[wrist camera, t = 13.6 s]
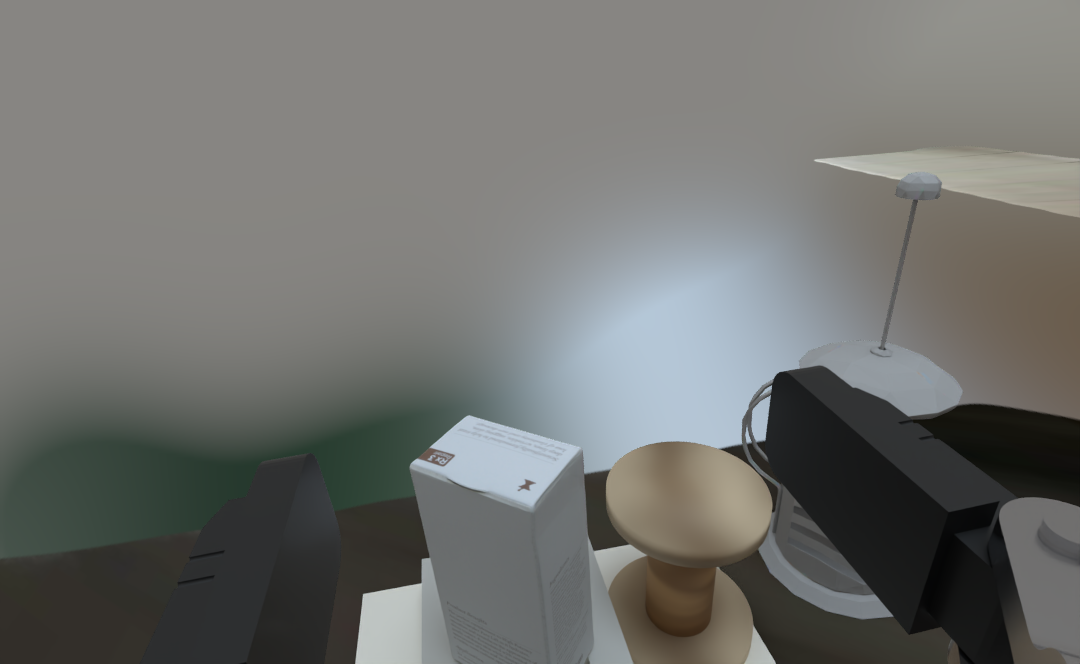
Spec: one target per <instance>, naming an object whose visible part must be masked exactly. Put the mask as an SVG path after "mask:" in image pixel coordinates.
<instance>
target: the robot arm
mask: <svg viewBox="0 0 1080 664" xmlns="http://www.w3.org/2000/svg"><path fill="white" fill-rule="evenodd" d="M765 447H766V454H767V458H768V461H769V464H770V467H771V469H772V471H773V472H774V474H775V475H776V477H777V478H778V479H779V481H780V482H781V483H782V484H783V485H784V486H785V488H786V489H787V490H788V491H789V492H790V494H791V495H792V496H793V497H794V498H795V500H796V501H797V502H798V503H799V504H800V506H801V507H802V508H803V509H804V510H805V511H806V513H807V514H808V515H809V516H810V517H811V519H812V520H813V521H814V522H815V523H816V525H817V526H818V527H819V528H820V529H821V531H822V532H823V533H824V534H825V535H826V537H827V538H828V539H829V540H830V541H831V542H832V544H833V545H834V546H835V547H836V548H837V550H838V551H839V552H840V553H841V554H842V556H843V557H844V558H845V559H846V560H847V562H848V563H849V564H850V565H851V566H852V567H853V569H854V570H855V571H856V572H857V573H858V575H859V576H860V577H861V578H862V579H863V581H864V582H865V583H866V584H867V585H868V587H869V588H870V589H871V590H872V591H873V593H874V594H875V595H876V596H877V597H878V598H879V600H880V601H881V602H882V603H883V604H884V606H885V607H886V608H887V609H888V610H889V612H890V613H891V614H892V615H893V616H894V618H895V619H896V620H897V621H898V622H899V623H900V625H901V626H902V627H903V628H904V629H905V631H906V632H907V633H908V634H909V635H910V634H914V633H918V632H922V631H926V630H930V629H934V628H938V627H942V628H943V629H944V630H945V632H946V633H947V634H948V635H949V636H950V637H951V638H952V639H951V642H950V645H949V648H948V664H1080V507H1077V506H1074V505H1071V504H1068V503H1065V502H1061V501H1057V500H1051V499H1045V498H1034V497H1032V498H1020V499H1019V498H1017V497H1016V496H1015V495H1013V494H1012V493H1011V492H1009V491H1008V490H1007V489H1005V488H1004V487H1003V486H1001V485H1000V484H999V483H997V482H996V481H994V480H993V479H992V478H990V477H989V476H988V475H986V474H985V473H984V472H982V471H981V470H980V469H978V468H977V467H976V466H974V465H973V464H972V463H970V462H969V461H968V460H966V459H965V458H964V457H962V456H961V455H960V454H958V453H957V452H955V451H954V450H953V449H951V448H950V447H949V446H947V445H946V444H945V443H943V442H942V441H941V440H939V439H936V440H935V439H934V437H933V434H931V433H930V432H929V431H927V430H926V429H925V428H923V427H922V426H921V425H919V424H918V423H916V424H914V423H913V421H912V419H911V418H910V417H908V416H907V415H906V414H904V413H903V412H902V411H900V410H899V409H898V408H896V407H895V406H894V405H892V404H891V403H890V402H888V401H886V400H884V399H882V398H879V397H877V396H875V395H872V394H870V393H868V392H866V391H863V390H861V389H859V388H856V387H855V388H853V387H851V386H850V385H849V384H848V383H846V382H845V381H844V380H842V379H841V378H840V377H839V376H837V375H836V374H835V373H833V372H832V371H831V370H829V369H828V368H826V367H824V366H821V365H818V366H812V367H807V368H801V369H795V370H790V371H784V372H779V373H778V374H777V375H776V376H775V378H774V380H773V384H772V391H771V399H770V407H769V416H768V424H767V432H766V441H765ZM189 558H190V562H189V563H186V565H185V567H184V570H183V572H182V574H181V576H180V578H179V580H178V588H177V589H174V591H173V593H172V595H171V598H170V600H169V602H168V604H167V606H166V608H165V610H164V613H163V615H162V617H161V619H160V621H159V623H158V626H157V628H156V630H155V632H154V634H153V636H152V638H151V641H150V643H149V645H148V647H147V649H146V651H145V653H144V656H143V658H142V660H141V662H140V664H324V660H325V654H326V648H327V642H328V636H329V629H330V623H331V617H332V611H333V605H334V599H335V592H336V586H337V580H338V574H339V568H340V561H341V540H340V532H339V527H338V523H337V519H336V516H335V513H334V510H333V507H332V504H331V501H330V498H329V495H328V492H327V489H326V486H325V483H324V480H323V477H322V473H321V470H320V467H319V464H318V462H317V459H316V458H315V456H314V455H313V454H311V453H309V454H303V455H297V456H291V457H286V458H280V459H275V460H269V461H263V462H262V463H261V464H260V465H259V466H258V469H257V471H256V473H255V476H254V479H253V481H252V484H251V486H250V489H249V491H248V494H247V496H246V497H244V498H238V499H232V500H229V501H228V502H227V503H226V504H225V505H224V506H223V507H222V508H221V509H220V510H219V511H218V512H217V513H216V514H215V515H214V517H212V519H211V520H210V521H209V522H208V523H207V524H206V525H205V526H204V527H203V529H202V531H201V533H200V535H199V537H198V539H197V542H196V544H195V546H194V548H193V550H192V552H191V555H190V557H189Z"/></svg>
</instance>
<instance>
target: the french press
mask: <svg viewBox="0 0 1080 664" xmlns="http://www.w3.org/2000/svg"><path fill="white" fill-rule="evenodd" d="M941 185H942V182H941V181H940V180H939V179H938V177H937V176H936V175H933V174H930V173H926V172H916V173H911V174H908V175H907V176H905V177H904V178H903V179H902V180H901V181H900V182H899V184H898V186H897V189H896V194H895V195H896V196H897V197H900V198H905V199H913V203H912V207H911V212H910V216H909V221H908V225H907V230H906V234H905V238H904V243H903V248H902V252H901V257H900V261H899V265H898V269H897V274H896V278H895V283H894V287H893V292H892V296H891V301H890V305H889V309H888V314H887V318H886V323H885V327H884V332H883V336H882V340H881V342H876V341H861V340H856V341H847V342H838V343H830V344H827V345H825V346H822V347H819V348H816V349H813V350H810V351H808V352H807V353H806V354H805V355H804V356H803V357H802V358H801V359H800V360H799V366H800V369H801V368H807V367H812V366H818V365H821V366H824V367H826V368H828V369H829V370H831V371H832V372H833V373H835V374H836V375H837V376H839V377H840V378H841V379H842V380H844V381H845V382H846V383H848V384H849V385H850V386H851V387H853V388H855V387H856V388H859V389H861V390H863V391H866V392H868V393H870V394H872V395H875V396H877V397H879V398H882V399H884V400H886V401H888V402H890V403H891V404H892V405H894V406H895V407H896V408H898V409H899V410H900V411H902V412H903V413H904V414H906V415H907V416H908V417H910V418H911V419H932V418H934V417H936V416H939V415H941V414H944V413H946V412H949V411H951V410H952V409H954V408H955V407H956V406H957V404H958V402H959V400H960V398H961V395H962V393H963V391H962V389H961V387H960V386H959V384H958V382H957V381H956V379H955V378H954V377H952V376H951V375H949V374H948V373H946V372H945V371H944V370H942V369H941V368H939V367H938V366H937V365H936V364H934V363H933V362H932V361H930V360H929V359H928V358H927V357H925V356H923V355H921V354H918V353H916V352H913V351H910V350H908V349H905V348H902V347H899V346H896V345H894V344H889V343H885V342H886V338H887V333H888V329H889V324H890V320H891V316H892V312H893V307H894V302H895V298H896V294H897V290H898V285H899V281H900V277H901V272H902V267H903V263H904V259H905V255H906V250H907V246H908V241H909V237H910V233H911V228H912V223H913V219H914V215H915V211H916V206H917V202H918V200H933V199H938V198H939V197H940V191H941ZM773 380H774V379H773ZM773 380H771V381H770V382H768V383H766V384H764V385H763V386H762V387H761V388H760V389H759V390H758V391H757V392H756V394H755V395H754V396H753V398H752V400H751V402H750V404H749V409H748V410H747V412H746V414H745V416H744V418H743V420H742V443H743V449H744V451H745V453H746V455H747V458H748V460H749V462H750V463H751V464H752V465H753V466H754V468H755V469H756V470H757V471H758V472H759V473H760V474H761V475H762V476H764V477H765V478H766V479H768V480H769V481H770V482H772V483H773V484H774V485H776V487H777V488H778V496H777V503H776V509H775V512H773V513H772V514H771V521H770V527H769V531H768V534H767V537H766V539H765V540H764V542H763V544H762V545H761V546H760V547H759V548H758V550H759V552H760V554H761V556H762V558H763V560H764V562H765V564H766V565H767V567H768V569H769V571H770V573H771V574H772V575H774V576H775V577H776V578H777V579H778V580H779V581H780V582H781V583H782V584H783V585H784V586H785V587H787V588H788V589H789V590H790V591H791V592H792V593H793V594H794V595H796V596H798V597H800V598H802V599H804V600H806V601H808V602H810V603H812V604H814V605H816V606H817V607H819V608H821V609H823V610H825V611H828V612H832V613H837V614H841V615H846V616H850V617H854V618H859V619H871V618H882V617H893V615H892V614H891V613H890V612H889V610H888V609H887V608H886V607H885V606H884V604H883V603H882V602H881V601H880V600H879V598H878V597H877V596H876V595H875V594H874V593H873V591H872V590H871V589H870V588H869V587H868V585H867V584H866V583H865V582H864V581H863V579H862V578H861V577H860V576H859V575H858V573H857V572H856V571H855V570H854V569H853V567H852V566H851V565H850V564H849V563H848V562H847V560H846V559H845V558H844V557H843V556H842V554H841V553H840V552H839V551H838V550H837V548H836V547H835V546H834V545H833V544H832V542H831V541H830V540H829V539H828V538H827V537H826V535H825V534H824V533H823V532H822V531H821V529H820V528H819V527H818V526H817V525H816V523H815V522H814V521H813V520H812V519H811V517H810V516H809V515H808V514H807V513H806V511H805V510H804V509H803V508H802V507H801V506H800V504H799V503H798V502H797V501H796V500H795V498H794V497H793V496H792V495H791V494H790V492H789V491H788V490H787V489H786V488H785V486H784V485H783V484H782V483H781V485H780V484H779V483H777V482H776V481H775V480H774V479H772V478H771V477H770V476H768V475H767V474H766V473H764V472H763V471H762V470H761V469H760V468H759V467H758V466H757V465H756V463H755V462H754V461H753V460H752V458H751V456H750V453H749V451H748V448H747V443H746V437H745V432H746V426H748V431H749V436H750V439H751V441H752V444H753V446H754V448H755V449H756V450H757V452H758V453H759V454H760V455H761V456H762V457H763V459H765V460H766V461H767V462H769V461H768V458H767V456H766V455H765V454H764V453H763V451H762V450H761V449H760V448H759V447H758V446H757V443H756V441H755V439H754V436H753V433H752V428H751V421H752V410H753V408H754V407H755V406H756V405H757V404H758V403H759V402H760V401H761V400H763V399H765V398H766V397H768V396H770V395H771V391H772V390H770V391H768V392H766V393H765V394H763V395H761V396H760V394H761V393H762V392H763V391H764V390H765V389H766V388H767V387H769V386H771V385H772V384H773ZM759 396H760V397H759Z"/></svg>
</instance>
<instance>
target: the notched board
mask: <svg viewBox="0 0 1080 664" xmlns="http://www.w3.org/2000/svg"><path fill="white" fill-rule="evenodd" d="M588 549H589V566H590V584H591V599H592V620H593V634H594V645H593V647H592V649H591V651H590V653H589V654H588V657H587V658H586V660H585V662H584V664H633V661H632V659H631V656H630V653H629V650H628V647H627V645H626V642H625V639H624V636H623V633H622V630H621V628H620V625H619V622H618V619H617V616H616V614H615V611H614V608H613V605H612V602H611V599H610V597H609V594H608V590H609V588H610V585H611V583H612V581H613V579H614V578H615V576H616V575H617V574H618V573H619V571H621V570H622V569H623V568H624V567H625V566H626V565H628V564H629V563H631V562H633V561H634V560H636V559H639V558H641V557H644V556H647V555H646V554H644V553H642V552H641V551H639V550H637V549H636V548H634V547H633V546H632V545H626V546H620V547H615V548H609V549H604V550H599V551H593V549H592V546H591V543H590V540H589V537H588ZM716 568H718V569H719V567H716ZM355 664H463V663H461V662H459V661H457V660H455V659H454V658H453V656H452V652H451V648H450V643H449V639H448V634H447V630H446V625H445V620H444V616H443V612H442V608H441V603H440V599H439V594H438V590H437V586H436V581H435V577H434V572H433V568H432V563H431V559H430V558H427V559H422V583H421V584H416V585H411V586H405V587H400V588H394V589H389V590H384V591H378V592H373V593H368V594H363V602H362V611H361V620H360V628H359V637H358V646H357V655H356V663H355ZM744 664H776V663H775V661H774V659H773V658H772V656H771V654H770V653H769V651H768V649H767V648H766V646H765V644H764V643H763V641H762V639H761V638H760V636H759V634H758V632H757V631H756V629H755V627H754V626H753V635H752V641H751V648H750V651H749V655H748V657H747V659H746V661H745V663H744Z"/></svg>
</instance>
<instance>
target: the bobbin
mask: <svg viewBox="0 0 1080 664" xmlns="http://www.w3.org/2000/svg"><path fill="white" fill-rule="evenodd" d="M606 506H607V512H608V515H609V519H610V520H611V522H612V524H613V526H614V528H615V529H616V530H617V532H618V533H619V534H620V535H621V536H622V537H623V538H624V539H625V540H626V541H627V542H628V543H629V544H630V545H632V546H633V547H634V548H636V549H637V550H639V551H641V552H642V553H644V554H646V555H647V556H644V557H641V558H639V559H636V560H634V561H633V562H631V563H629V564H628V565H626V566H625V567H624V568H623V569H622V570H621V571H619V573H618V574H617V575H616V576H615V578H614V579H613V581H612V583H611V585H610V588H609V590H608V594H609V597H610V599H611V602H612V605H613V608H614V611H615V614H616V616H617V619H618V622H619V625H620V628H621V630H622V633H623V636H624V639H625V642H626V645H627V647H628V650H629V653H630V656H631V659H632V661H633V664H744V663H745V661H746V659H747V657H748V655H749V651H750V648H751V641H752V635H753V617H752V613H751V609H750V606H749V604H748V601H747V600H746V598H745V596H744V594H743V593H742V591H741V590H740V588H739V587H738V586H737V585H736V584H735V582H734V581H733V580H732V579H731V578H730V577H728V576H727V575H726V574H725V573H724V572H722V571H721V570H720V569H718V568H716V567H721V566H726V565H730V564H733V563H736V562H738V561H741V560H743V559H745V558H746V557H748V556H750V555H751V554H753V553H754V552H755V551H756V550H757V549H758V548H759V547H760V546H761V545H762V544H763V542H764V540H765V539H766V537H767V534H768V531H769V527H770V521H771V514H772V498H771V495H770V492H769V489H768V487H767V485H766V483H765V482H764V481H763V479H762V478H761V477H760V476H759V474H758V473H757V472H756V471H755V470H754V469H752V468H751V467H750V466H749V465H748V464H746V463H745V462H743V461H742V460H740V459H739V458H737V457H735V456H733V455H731V454H729V453H727V452H725V451H722V450H719V449H717V448H713V447H710V446H706V445H702V444H697V443H690V442H661V443H655V444H650V445H646V446H643V447H640V448H637V449H635V450H633V451H631V452H629V453H627V454H626V455H624V456H623V457H622V458H620V459H619V460H618V461H617V462H616V463H615V465H614V466H613V467H612V469H611V471H610V473H609V475H608V478H607V482H606Z"/></svg>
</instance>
